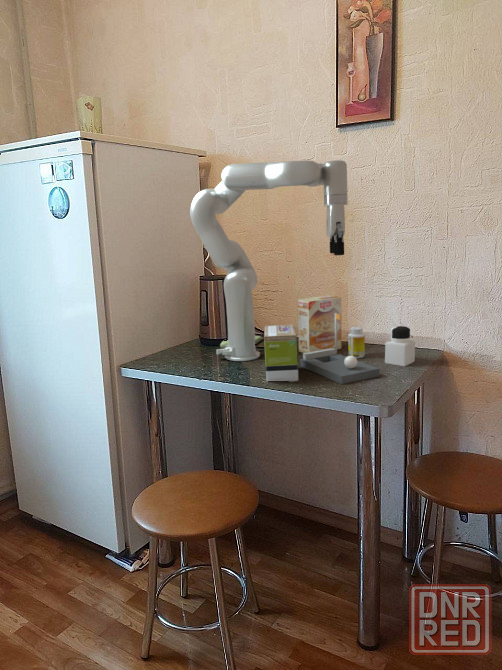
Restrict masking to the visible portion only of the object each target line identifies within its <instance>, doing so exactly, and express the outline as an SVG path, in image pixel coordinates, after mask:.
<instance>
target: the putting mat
mask: <svg viewBox="0 0 502 670" xmlns="http://www.w3.org/2000/svg"><path fill="white" fill-rule="evenodd" d="M337 319H338V320H341V321H342V313H341V314H337V313H335V349H334V348H331V349H325V350H320V351H314V352H308V353H303V352H302V358H300V367H302V368H304V369H306V370H309V371H311V372H313V373H316V374H318V375H320V376H322V377H325V378H327V379H329V380H331V381H334V382H336V383H338V384H340V385H344V384H349V383H353V382H359V381H363V380H367V379H372V378H377V377H380V375H381V374H380V373H381V372H380V369H381V368H379V367H376V366H374V365H370V364H368V363H365V362H362V361H360V360H357V366H356V367H355V368H353V369H349V368H347V367H346V366H345V364H344V360H345V358H346V357H347V356H346V355H343V354H340V353H338V349H337Z"/></svg>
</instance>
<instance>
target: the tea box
mask: <svg viewBox="0 0 502 670" xmlns="http://www.w3.org/2000/svg"><path fill="white" fill-rule="evenodd" d="M263 337H264V338H263V339H264V340H263V342H264V343H263V344H264V361H265V365H264V366H265V378H266V379H265V380H266V382H267V383H269V382H268V381H289V382H298V381H299V360H298V359H299V358H298V357H299V355H298V354H299V353H298V352H299V350H298V337H297V332H296V328H295V324H282V325H280V324H279V325H264V335H263Z"/></svg>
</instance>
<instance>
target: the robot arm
mask: <svg viewBox="0 0 502 670" xmlns="http://www.w3.org/2000/svg"><path fill="white" fill-rule="evenodd" d="M220 177H221V180H220V181H221V182H219V184H217V185H216V187H214V188H205V189H202V190H200V191H199V192H198V193H196V195H195V196H194V197H193V199H192V202H191V205H190V209H189V214H190V220H191V223H192V226H193V228H194V229H195V232H196V233H197V235H198V237H199V239H200V240H201V243H202V245H203V246H204V248H205V250H206V252H207V253H208V255H209V257H210V259H211V261H212V263H213V264H214V266H216V267H217V268H220V269H225V271H226V276H225V277H224V280H223V291H224V298H225V305H226V317H227V318H226V319H227V320H226V321H227V323H226V324H227V339H228V342H229V345H226V347H225V348H224V349H222V348H218V349H215V352H216V355H217V356H218V355H219V356H220V355H222V356H224V358H225V359H226V360H229V361H233V362H246V361H253V360H257V359H259V358H260V356H261V352H260V351H258V350H256V345H255V336H256V333H255V332H256V330H255V313H254V300H253V293H252V291H253V290H254V289H255V288H256V286H257V284H258V275H257V272H256V270H255V269H254V266H253V265H252V263H251V261H250V259H249V258H248V256H247V253H246V252H245V251H244V249H243V247H242V246H241V245H240V244H239V243H238V242H237V241H235V240H232V239H229V237H228V236H227V234H226V232H225V230H224V228H223V227H222V225H221V223H220V222H219V221H218V219H217V217H216V215H221V214H224V212H226V211H227V210H228V209H229V208H230V207H232V206H233V204H234V203H235V202H236V201H238V199H239V198H240V197H241V196H242V195H243V194H244V193H245V192H246V191H252V190H253V191H254V190H256V191H258V190H259V191H260V190H273V189H276V188H280V187H292V186H293V187H297V186H300V187H301V186H306V187H310V188H311V187H312V188H313V187H318V186H323V206H324V207H326V228H325V229H326V233H325V234H326V236H327V237H329V253H330V254H333V256H344V255H345V241H344V240H345V239H344V236H345V233H346V217H345V212H346V211H345V206H348V165H347V162H346V161H344V160H338V159H336V160H330V161H325V162H324V163H320V162H319V163H318V162H316V161H314V160H288V161H277V162H276V161H269V162H267V161H266V162H251V163H249V162H247V163H231V164H228V165H226V166H225V167H224V168H223V170H222V171H221V176H220Z"/></svg>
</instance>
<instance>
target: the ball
mask: <svg viewBox="0 0 502 670" xmlns="http://www.w3.org/2000/svg"><path fill="white" fill-rule="evenodd" d="M357 361H358V358H355V357H354V356H349V355H348V356H346V358H345V360H344V364H345V366H346V367H347V368H349V369H353V368H355V367H356V366H357Z"/></svg>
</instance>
